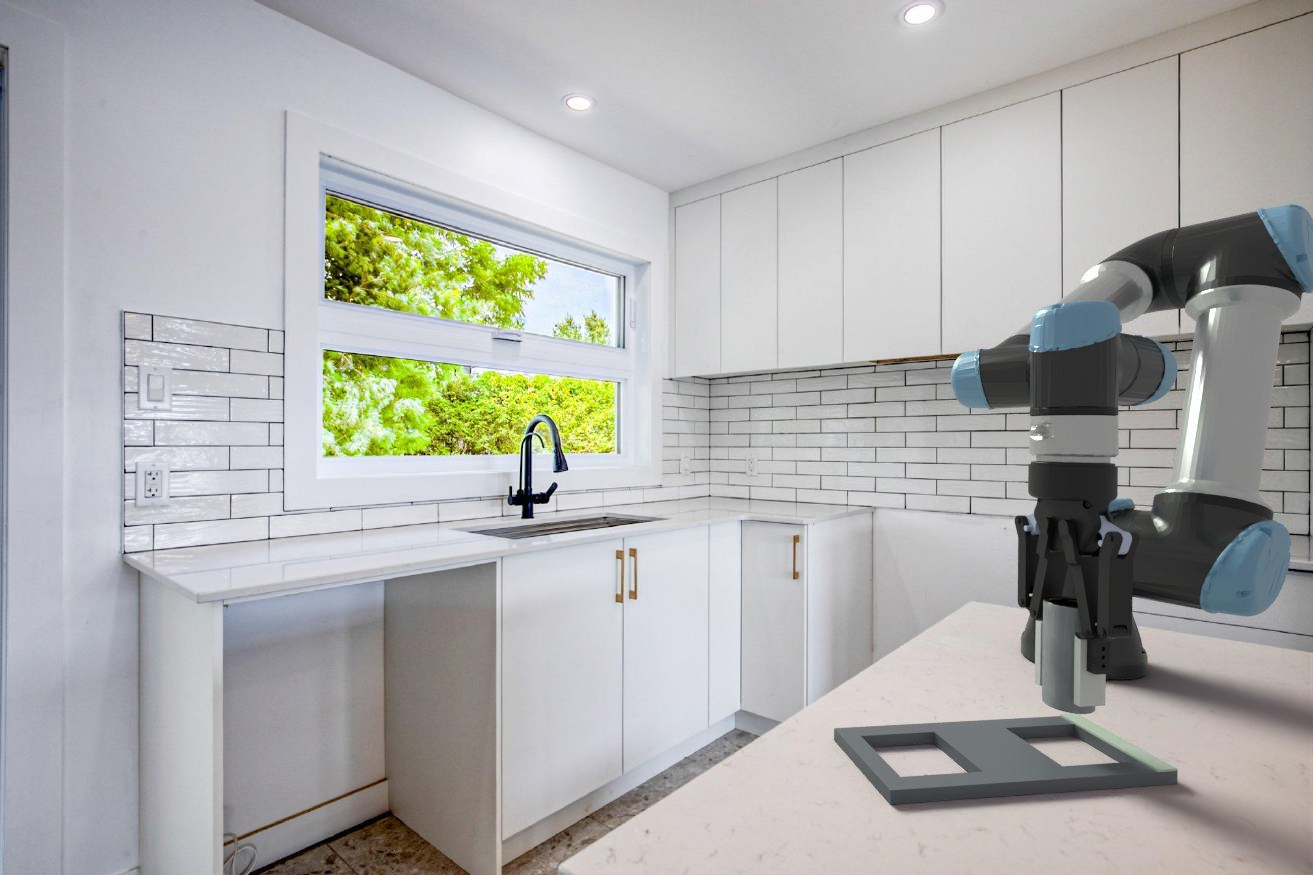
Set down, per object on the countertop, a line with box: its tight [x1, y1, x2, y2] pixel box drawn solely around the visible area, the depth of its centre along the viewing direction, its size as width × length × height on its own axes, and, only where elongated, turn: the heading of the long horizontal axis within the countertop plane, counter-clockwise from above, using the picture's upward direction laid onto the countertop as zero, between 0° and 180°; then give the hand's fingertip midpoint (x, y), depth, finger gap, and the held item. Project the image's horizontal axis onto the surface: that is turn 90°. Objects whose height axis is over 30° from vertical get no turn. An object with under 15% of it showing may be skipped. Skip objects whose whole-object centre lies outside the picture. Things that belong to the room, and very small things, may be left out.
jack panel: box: [833, 713, 1179, 805], centre depth 64 cm, size 28×12×1 cm, turn 98°
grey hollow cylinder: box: [1041, 597, 1097, 715], centre depth 65 cm, size 4×4×10 cm
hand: (1068, 693), depth 65 cm, fingers closed on grey hollow cylinder, 4 cm apart
